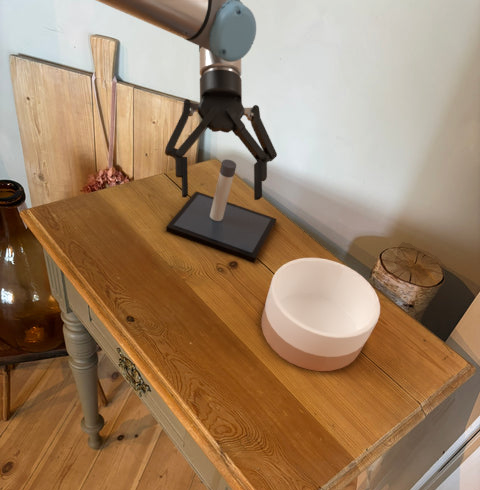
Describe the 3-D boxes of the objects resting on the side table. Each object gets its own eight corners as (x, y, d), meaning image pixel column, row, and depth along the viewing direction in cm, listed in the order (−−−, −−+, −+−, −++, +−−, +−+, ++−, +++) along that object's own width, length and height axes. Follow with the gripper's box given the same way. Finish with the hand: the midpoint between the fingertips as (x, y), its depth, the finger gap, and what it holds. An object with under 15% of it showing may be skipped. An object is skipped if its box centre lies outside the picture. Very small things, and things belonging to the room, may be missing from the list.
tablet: (166, 231, 88) (166, 226, 87) (195, 196, 97) (196, 190, 96) (254, 263, 86) (255, 257, 85) (275, 223, 95) (277, 218, 94)
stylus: (207, 217, 90) (219, 163, 81) (212, 210, 92) (225, 157, 83) (219, 223, 90) (233, 169, 81) (224, 216, 92) (238, 163, 83)
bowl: (241, 336, 73) (250, 300, 67) (288, 279, 84) (299, 243, 78) (339, 390, 69) (358, 357, 63) (375, 322, 80) (394, 288, 74)
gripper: (280, 92, 89) (280, 203, 91) (149, 80, 84) (151, 199, 85) (293, 74, 82) (293, 195, 83) (150, 60, 76) (153, 190, 78)
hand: (222, 197), depth 84 cm, fingers open, 13 cm apart
